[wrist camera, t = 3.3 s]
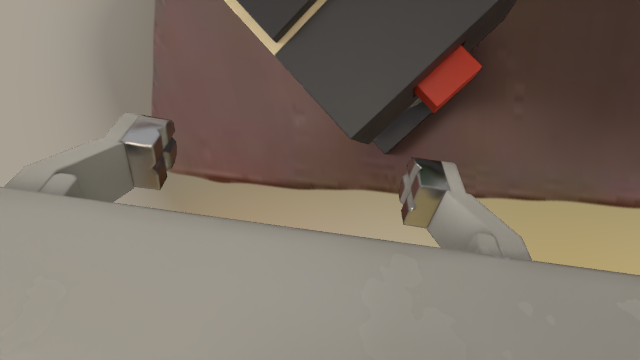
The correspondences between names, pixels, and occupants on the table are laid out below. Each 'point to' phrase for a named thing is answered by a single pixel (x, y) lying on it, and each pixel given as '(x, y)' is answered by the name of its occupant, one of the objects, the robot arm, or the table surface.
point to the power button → (447, 79)
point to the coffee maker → (369, 53)
